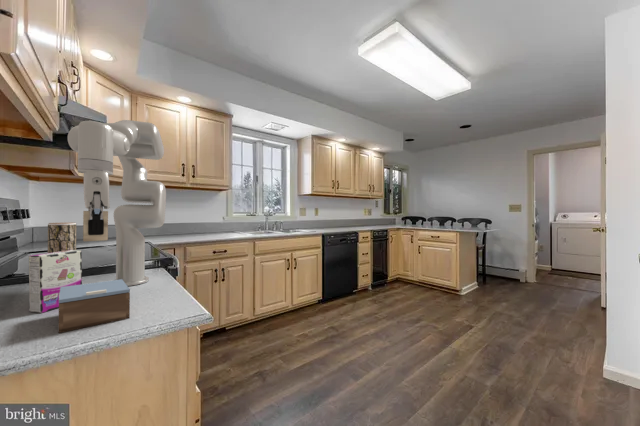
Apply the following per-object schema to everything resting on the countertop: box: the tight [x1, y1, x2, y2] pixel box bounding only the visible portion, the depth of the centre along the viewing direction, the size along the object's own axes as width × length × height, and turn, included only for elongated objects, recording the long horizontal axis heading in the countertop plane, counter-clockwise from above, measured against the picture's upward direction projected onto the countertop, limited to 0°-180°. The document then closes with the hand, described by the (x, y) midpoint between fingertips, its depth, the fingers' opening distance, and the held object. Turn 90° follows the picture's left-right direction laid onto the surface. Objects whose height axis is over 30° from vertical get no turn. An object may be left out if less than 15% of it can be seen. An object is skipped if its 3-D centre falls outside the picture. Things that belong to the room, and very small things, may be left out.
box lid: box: [59, 279, 131, 303], centre depth 75 cm, size 15×14×1 cm
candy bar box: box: [28, 249, 83, 314], centre depth 82 cm, size 11×5×16 cm, turn 168°
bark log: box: [47, 222, 77, 253], centre depth 89 cm, size 7×7×25 cm
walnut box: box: [58, 291, 131, 334], centre depth 75 cm, size 15×14×7 cm
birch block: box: [82, 210, 109, 242], centre depth 75 cm, size 5×5×8 cm
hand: (95, 233), depth 75 cm, fingers closed on birch block, 5 cm apart
